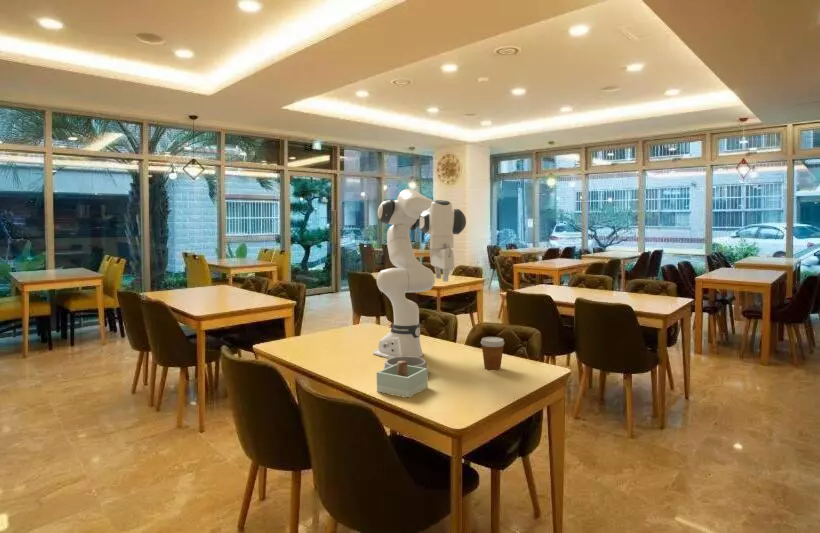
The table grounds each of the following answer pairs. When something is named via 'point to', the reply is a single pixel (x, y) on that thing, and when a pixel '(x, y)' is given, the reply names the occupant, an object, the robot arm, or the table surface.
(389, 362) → the dog bowl
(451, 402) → the table surface
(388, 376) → the socket box
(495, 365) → the disposable coffee cup
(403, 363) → the peg
